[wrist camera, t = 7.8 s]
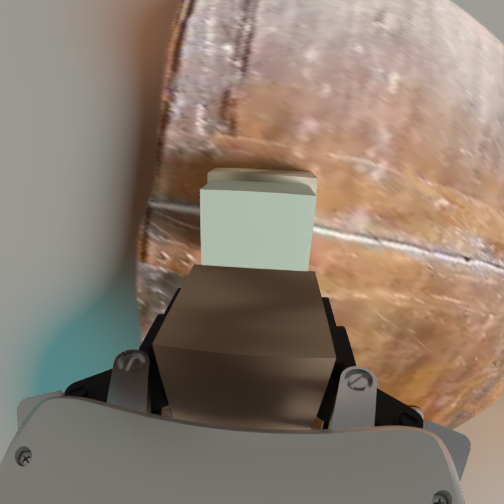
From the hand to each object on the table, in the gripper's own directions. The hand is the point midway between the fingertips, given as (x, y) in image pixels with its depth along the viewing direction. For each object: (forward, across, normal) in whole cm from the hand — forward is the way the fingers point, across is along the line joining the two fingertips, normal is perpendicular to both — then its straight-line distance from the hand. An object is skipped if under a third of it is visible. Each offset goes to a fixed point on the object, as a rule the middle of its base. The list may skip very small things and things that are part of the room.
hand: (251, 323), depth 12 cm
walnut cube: (0, 0, 0) cm, 0 cm away
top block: (+13, 0, 0) cm, 13 cm away
